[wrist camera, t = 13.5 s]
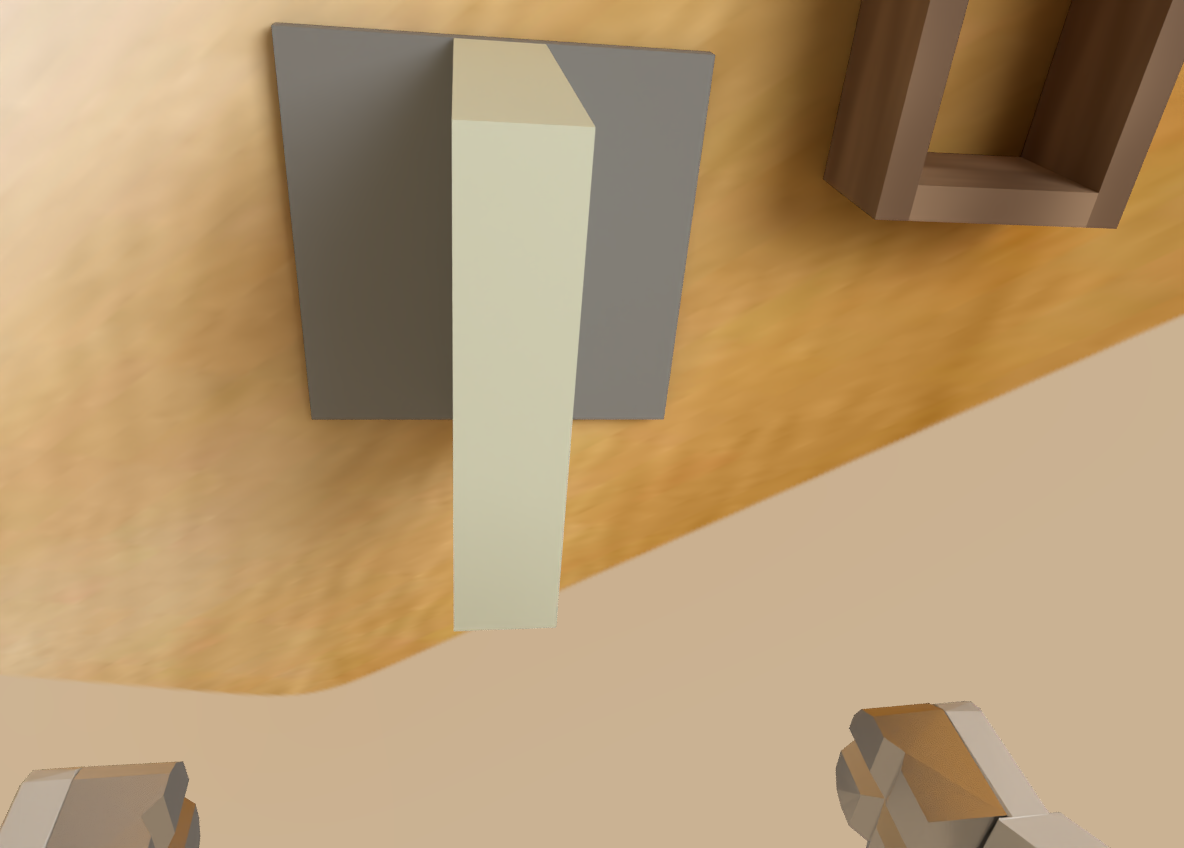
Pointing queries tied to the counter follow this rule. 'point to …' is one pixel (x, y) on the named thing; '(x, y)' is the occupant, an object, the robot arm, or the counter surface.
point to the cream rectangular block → (514, 325)
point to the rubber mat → (424, 215)
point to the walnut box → (1056, 137)
